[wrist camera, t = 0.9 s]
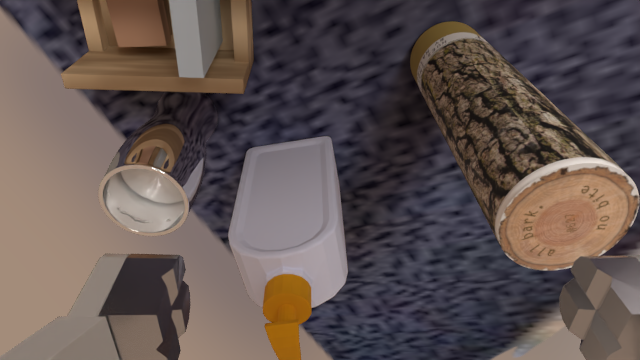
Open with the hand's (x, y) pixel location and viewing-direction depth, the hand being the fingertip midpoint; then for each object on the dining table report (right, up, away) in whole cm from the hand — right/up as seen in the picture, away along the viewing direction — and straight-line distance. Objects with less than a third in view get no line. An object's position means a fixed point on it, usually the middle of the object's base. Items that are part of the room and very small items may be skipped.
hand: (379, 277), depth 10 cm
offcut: (-16, +18, +28) cm, 37 cm away
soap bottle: (-4, +3, +41) cm, 41 cm away
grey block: (-11, +19, +29) cm, 36 cm away
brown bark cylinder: (+11, +14, +34) cm, 38 cm away
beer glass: (-15, +9, +37) cm, 41 cm away
